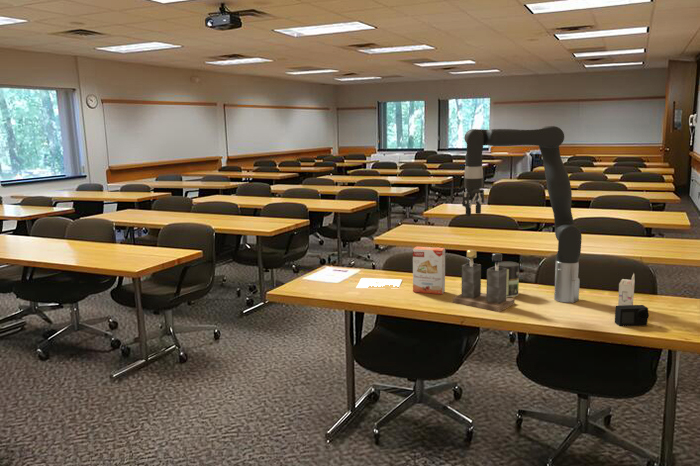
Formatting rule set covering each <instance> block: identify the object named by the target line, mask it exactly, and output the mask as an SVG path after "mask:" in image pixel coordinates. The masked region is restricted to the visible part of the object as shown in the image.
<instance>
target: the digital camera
mask: <svg viewBox="0 0 700 466" xmlns="http://www.w3.org/2000/svg"><path fill="white" fill-rule="evenodd" d="M614 310H615V311H614V324H616V325H617V326H618V327H646V326H648V319H649V317H650V313H649V308H648V307H647V306H646V305H644V304H633V305H621V306H618V305H615V309H614Z"/></svg>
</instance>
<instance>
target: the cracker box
mask: <svg viewBox="0 0 700 466" xmlns="http://www.w3.org/2000/svg"><path fill="white" fill-rule="evenodd" d="M445 290H446V247H432V246H431V247H429V246H418V245H417V246H415V247H414V248H412V292H414V293H424V294H431V295H432V294H433V295H443V294H444V292H445Z"/></svg>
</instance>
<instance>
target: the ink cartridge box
mask: <svg viewBox="0 0 700 466" xmlns="http://www.w3.org/2000/svg"><path fill="white" fill-rule="evenodd" d="M635 283H636V282H635V273H633V274H632V276H631V279H626V278H625V279H624V278H622V279H621V280H620V282H619V283H618V303H617V306H621V305H634V295H635Z"/></svg>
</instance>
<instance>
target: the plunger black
mask: <svg viewBox="0 0 700 466" xmlns="http://www.w3.org/2000/svg"><path fill="white" fill-rule="evenodd" d="M491 255H492V256H491V261H492V262H493V263H494V267H495V270H497V271H499V262H503V254H502V253H500V252H494V253H492V254H491Z"/></svg>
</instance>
